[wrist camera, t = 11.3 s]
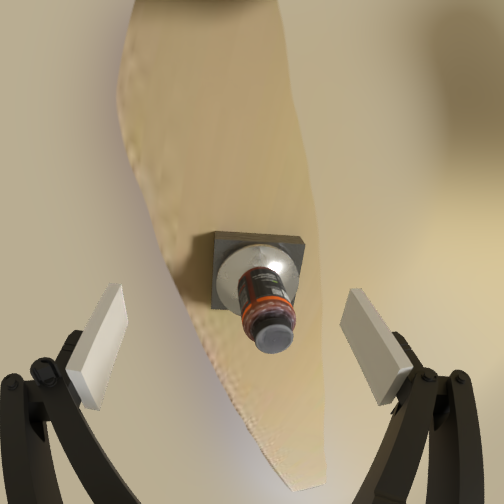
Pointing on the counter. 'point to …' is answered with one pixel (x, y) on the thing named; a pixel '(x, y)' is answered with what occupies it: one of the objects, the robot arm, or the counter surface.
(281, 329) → the supplement bottle
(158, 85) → the counter surface
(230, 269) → the kitchen scale
